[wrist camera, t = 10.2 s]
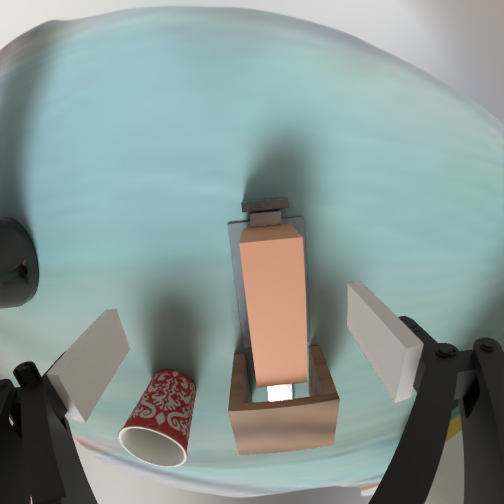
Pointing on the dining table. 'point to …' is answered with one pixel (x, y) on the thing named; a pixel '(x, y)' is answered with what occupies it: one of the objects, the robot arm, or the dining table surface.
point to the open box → (284, 412)
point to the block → (275, 303)
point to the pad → (234, 238)
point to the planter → (450, 466)
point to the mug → (161, 421)
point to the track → (260, 221)
